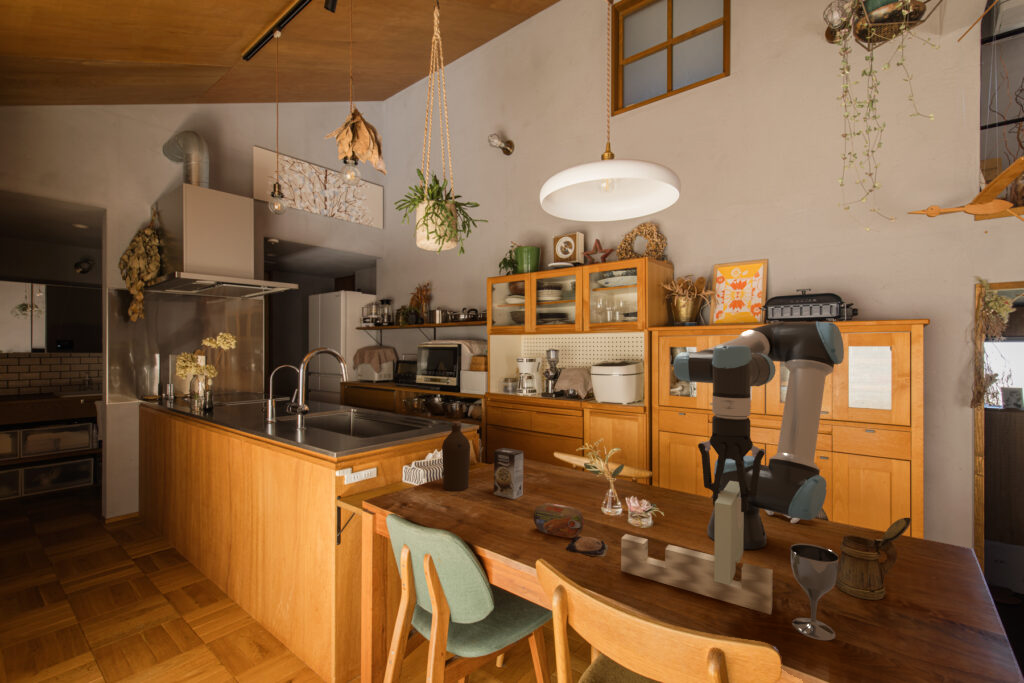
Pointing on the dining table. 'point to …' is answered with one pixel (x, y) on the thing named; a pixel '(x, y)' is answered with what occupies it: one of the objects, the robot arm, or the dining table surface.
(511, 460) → the coffee box
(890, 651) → the dining table surface
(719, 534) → the sage board
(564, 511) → the tin
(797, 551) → the wine glass
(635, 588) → the dining table surface
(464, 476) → the olive oil
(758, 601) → the notched fence
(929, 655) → the dining table surface
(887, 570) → the wooden mug
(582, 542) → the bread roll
